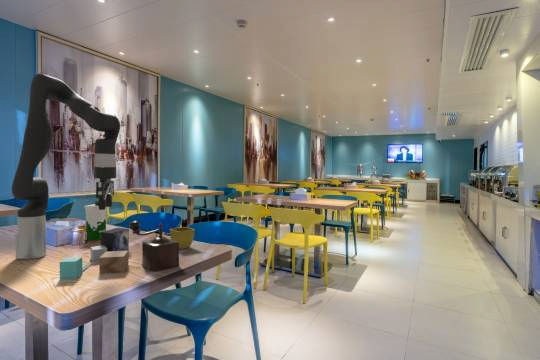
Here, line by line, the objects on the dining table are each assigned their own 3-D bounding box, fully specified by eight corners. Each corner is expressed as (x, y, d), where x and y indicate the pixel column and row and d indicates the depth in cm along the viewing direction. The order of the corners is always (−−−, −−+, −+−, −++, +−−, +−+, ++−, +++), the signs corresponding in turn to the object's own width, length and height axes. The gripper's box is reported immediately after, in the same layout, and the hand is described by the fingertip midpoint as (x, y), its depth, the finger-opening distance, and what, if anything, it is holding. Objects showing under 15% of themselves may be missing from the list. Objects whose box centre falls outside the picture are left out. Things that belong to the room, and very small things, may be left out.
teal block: (59, 279, 102) (59, 261, 101) (66, 274, 107) (66, 257, 106) (76, 278, 103) (76, 261, 102) (82, 273, 108) (82, 257, 107)
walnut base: (99, 274, 107) (99, 257, 107) (105, 267, 115) (105, 251, 115) (123, 272, 109) (123, 256, 109) (128, 265, 117) (128, 250, 117)
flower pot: (185, 244, 151) (185, 226, 150) (195, 247, 145) (195, 229, 144) (169, 247, 145) (169, 228, 144) (178, 251, 138) (178, 231, 138)
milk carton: (98, 241, 155) (97, 202, 154) (82, 240, 156) (81, 201, 156) (109, 237, 164) (109, 200, 163) (94, 236, 165) (94, 200, 164)
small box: (113, 257, 127) (112, 232, 127) (99, 256, 129) (99, 231, 129) (129, 251, 138) (129, 228, 137) (117, 250, 139) (117, 227, 139)
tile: (59, 272, 108) (59, 271, 108) (69, 265, 116) (69, 264, 116) (83, 271, 110) (83, 270, 110) (92, 264, 118) (92, 263, 118)
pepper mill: (165, 259, 125) (165, 216, 124) (179, 266, 117) (179, 219, 117) (127, 268, 114) (127, 220, 113) (139, 275, 106) (139, 224, 106)
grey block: (93, 250, 120) (90, 247, 125) (93, 262, 120) (90, 259, 125) (107, 248, 123) (104, 245, 128) (107, 260, 124) (104, 256, 128)
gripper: (100, 166, 122) (100, 206, 122) (87, 165, 108) (88, 210, 109) (120, 166, 124) (120, 205, 124) (110, 166, 110) (110, 210, 110)
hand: (105, 208), depth 116 cm, fingers open, 8 cm apart
